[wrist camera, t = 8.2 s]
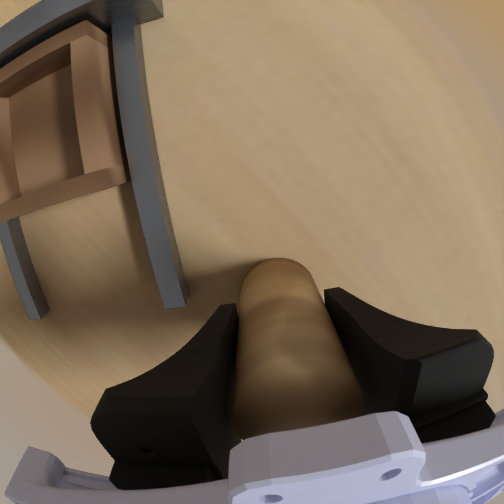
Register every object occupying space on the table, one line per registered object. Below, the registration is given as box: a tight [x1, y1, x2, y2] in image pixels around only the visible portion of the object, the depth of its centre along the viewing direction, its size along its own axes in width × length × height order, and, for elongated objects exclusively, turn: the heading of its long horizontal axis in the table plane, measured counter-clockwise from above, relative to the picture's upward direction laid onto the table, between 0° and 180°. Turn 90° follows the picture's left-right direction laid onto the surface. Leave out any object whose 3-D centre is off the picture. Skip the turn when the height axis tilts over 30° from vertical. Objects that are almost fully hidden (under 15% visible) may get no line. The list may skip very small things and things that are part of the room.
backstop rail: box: [0, 0, 189, 320], centre depth 10 cm, size 14×12×4 cm
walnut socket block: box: [0, 20, 131, 223], centre depth 10 cm, size 7×7×3 cm
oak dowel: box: [233, 258, 365, 440], centre depth 11 cm, size 4×4×8 cm
